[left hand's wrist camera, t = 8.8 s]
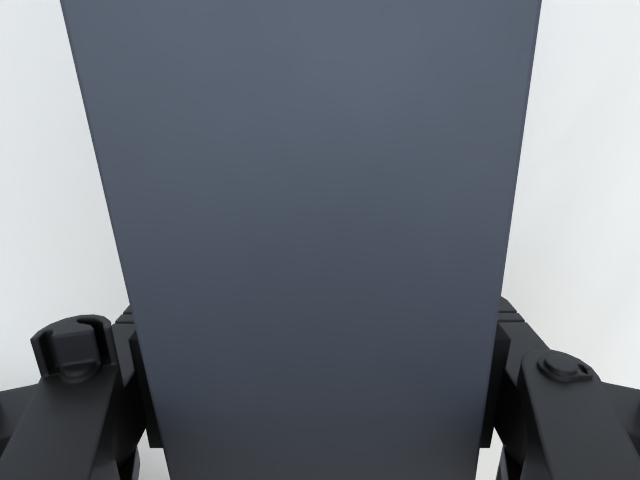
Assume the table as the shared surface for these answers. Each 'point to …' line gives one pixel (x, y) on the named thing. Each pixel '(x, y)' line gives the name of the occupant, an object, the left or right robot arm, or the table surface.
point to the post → (311, 221)
